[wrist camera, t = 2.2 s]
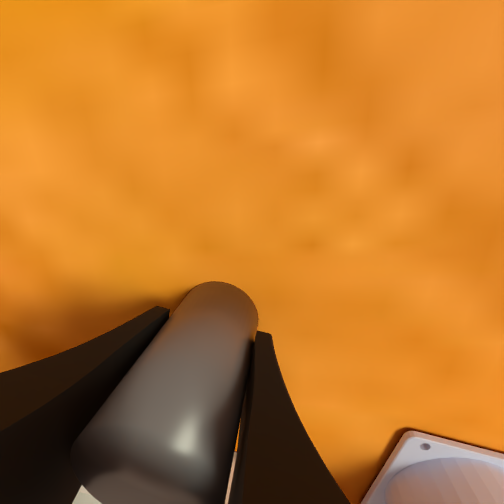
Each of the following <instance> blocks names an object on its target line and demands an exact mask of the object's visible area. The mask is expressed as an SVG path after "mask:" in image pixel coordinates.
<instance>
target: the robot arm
mask: <svg viewBox="0 0 504 504" xmlns="http://www.w3.org/2000/svg"><path fill="white" fill-rule="evenodd" d="M169 312H170V309H167V308H163V307H159V306H156V307H154V308H152V309H150V310H149V311H147V312H145V313H143V314H141V315H140V316H138V317H136V318H134V319H132V320H130V321H128V322H127V323H125V324H123V325H121V326H119V327H117V328H115V329H113V330H111V331H109V332H107V333H105V334H103V335H101V336H99V337H97V338H95V339H92V340H90V341H88V342H86V343H84V344H81V345H79V346H77V347H74V348H72V349H69V350H67V351H64V352H62V353H59V354H57V355H54V356H51V357H48V358H45V359H42V360H39V361H36V362H33V363H31V364H28V365H25V366H22V367H19V368H15V369H12V370H9V371H5V372H2V373H0V504H72V503H73V501H74V499H75V497H76V495H77V493H78V491H79V489H80V488H81V486H82V484H81V483H80V481H79V480H78V478H77V476H76V475H75V473H74V470H73V468H72V464H71V459H70V453H71V448H72V445H73V443H74V441H75V440H76V439H77V437H78V436H79V435H80V434H81V432H82V431H83V430H84V428H85V427H86V426H87V424H88V423H89V422H90V421H91V419H92V418H93V417H94V415H95V414H96V413H97V411H98V410H99V409H100V408H101V406H102V405H103V404H104V402H105V401H106V400H107V398H108V397H109V396H110V395H111V393H112V392H113V391H114V389H115V388H116V387H117V385H118V384H119V383H120V382H121V380H122V379H123V378H124V376H125V375H126V374H127V372H128V371H129V370H130V368H131V367H132V366H133V365H134V363H135V362H136V361H137V359H138V358H139V357H140V355H141V354H142V353H143V352H144V350H145V349H146V348H147V346H148V345H149V344H150V342H151V341H152V340H153V339H154V337H155V336H156V335H157V333H158V332H159V331H160V329H161V328H162V327H163V326H164V324H165V323H166V322H167V320H168V319H169ZM228 504H350V502H349V501H348V499H347V498H346V496H345V495H344V493H343V492H342V490H341V489H340V487H339V486H338V484H337V483H336V481H335V480H334V478H333V477H332V475H331V473H330V472H329V470H328V469H327V467H326V465H325V464H324V462H323V460H322V459H321V457H320V455H319V453H318V452H317V450H316V448H315V447H314V445H313V443H312V441H311V440H310V438H309V436H308V434H307V432H306V430H305V428H304V426H303V424H302V422H301V420H300V418H299V416H298V414H297V412H296V410H295V408H294V405H293V403H292V401H291V398H290V396H289V394H288V391H287V388H286V386H285V383H284V380H283V378H282V375H281V371H280V368H279V365H278V362H277V358H276V354H275V350H274V346H273V340H272V336H271V334H269V333H265V332H261V331H257V332H256V336H255V340H254V345H253V350H252V356H251V362H250V369H249V375H248V380H247V386H246V391H245V397H244V402H243V407H242V413H241V420H240V430H239V439H238V448H237V455H236V461H235V467H234V472H233V478H232V483H231V489H230V494H229V499H228ZM361 504H504V454H502V453H498V452H494V451H490V450H486V449H482V448H479V447H475V446H471V445H467V444H463V443H459V442H456V441H452V440H448V439H444V438H440V437H436V436H433V435H429V434H425V433H421V432H417V431H407V432H405V433H404V434H403V436H402V437H401V439H400V441H399V442H398V444H397V446H396V447H395V449H394V450H393V452H392V454H391V455H390V457H389V458H388V460H387V462H386V463H385V465H384V467H383V468H382V470H381V471H380V473H379V475H378V476H377V478H376V479H375V481H374V483H373V484H372V486H371V487H370V489H369V491H368V492H367V494H366V496H365V497H364V499H363V500H362V502H361Z"/></svg>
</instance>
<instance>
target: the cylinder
mask: <svg viewBox="0 0 504 504" xmlns="http://www.w3.org/2000/svg"><path fill="white" fill-rule="evenodd" d="M257 326H258V313H257V309H256V307H255V305H254V303H253V301H252V300H251V299H250V297H249V296H248V295H247V294H246V293H245V292H243V291H242V290H241V289H239V288H237V287H236V286H233V285H231V284H228V283H224V282H207V283H203V284H200V285H198V286H196V287H195V288H193V289H192V290H191V291H190V292H189V293H188V294H187V296H186V297H185V298H184V299H183V301H182V302H181V303H180V305H179V306H178V307H177V309H176V310H175V311H174V313H173V314H172V315H171V316H170V318H169V319H168V320H167V322H166V323H165V324H164V326H163V327H162V328H161V329H160V331H159V332H158V333H157V335H156V336H155V337H154V339H153V340H152V341H151V342H150V344H149V345H148V346H147V348H146V349H145V350H144V352H143V353H142V354H141V355H140V357H139V358H138V359H137V361H136V362H135V363H134V365H133V366H132V367H131V368H130V370H129V371H128V372H127V374H126V375H125V376H124V378H123V379H122V380H121V382H120V383H119V384H118V385H117V387H116V388H115V389H114V391H113V392H112V393H111V395H110V396H109V397H108V398H107V400H106V401H105V402H104V404H103V405H102V406H101V408H100V409H99V410H98V411H97V413H96V414H95V415H94V417H93V418H92V419H91V421H90V422H89V423H88V424H87V426H86V427H85V428H84V430H83V431H82V432H81V434H80V435H79V436H78V437H77V439H76V440H75V441H74V443H73V445H72V448H71V453H70V459H71V464H72V468H73V470H74V473H75V475H76V476H77V478H78V480H79V481H80V483H81V484H82V485H83V487H84V488H85V489H86V490H87V491H88V492H89V493H90V494H91V495H92V496H93V497H94V498H95V499H97V500H98V501H99V502H100V503H102V504H225V499H226V494H227V489H228V483H229V478H230V472H231V467H232V462H233V456H234V451H235V445H236V440H237V434H238V429H239V424H240V418H241V413H242V407H243V402H244V397H245V391H246V386H247V380H248V375H249V369H250V362H251V356H252V350H253V345H254V340H255V336H256V332H257Z"/></svg>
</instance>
